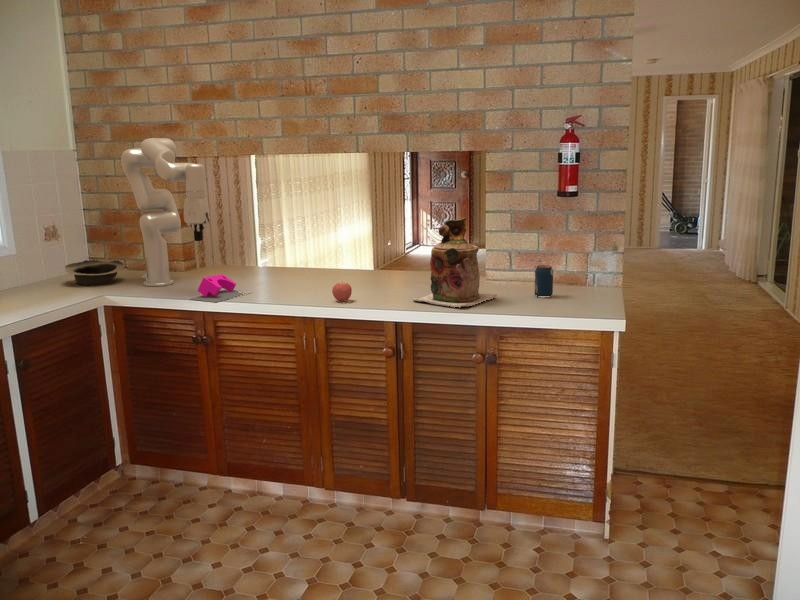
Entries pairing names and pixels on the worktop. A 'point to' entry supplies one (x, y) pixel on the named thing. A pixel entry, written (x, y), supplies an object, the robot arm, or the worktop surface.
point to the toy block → (215, 285)
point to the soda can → (544, 280)
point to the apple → (342, 291)
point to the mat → (218, 296)
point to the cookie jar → (454, 269)
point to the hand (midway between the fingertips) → (198, 240)
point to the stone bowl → (94, 271)
